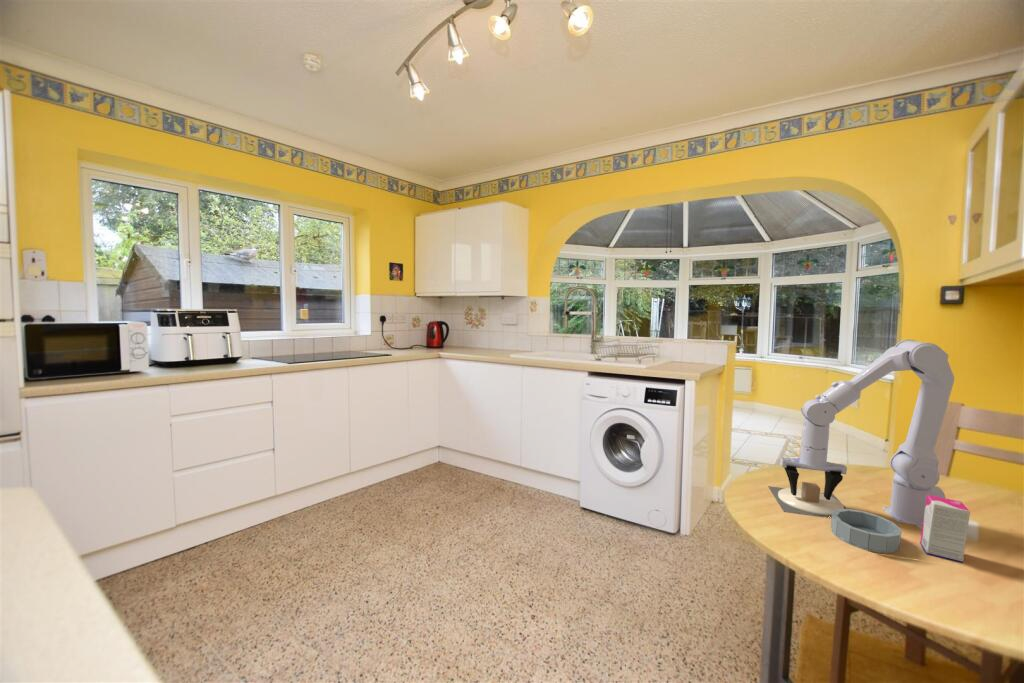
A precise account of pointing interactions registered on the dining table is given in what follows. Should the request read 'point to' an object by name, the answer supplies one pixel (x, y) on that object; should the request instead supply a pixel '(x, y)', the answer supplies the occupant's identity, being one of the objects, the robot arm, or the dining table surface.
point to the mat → (790, 509)
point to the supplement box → (945, 528)
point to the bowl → (866, 530)
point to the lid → (810, 500)
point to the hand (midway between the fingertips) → (809, 496)
